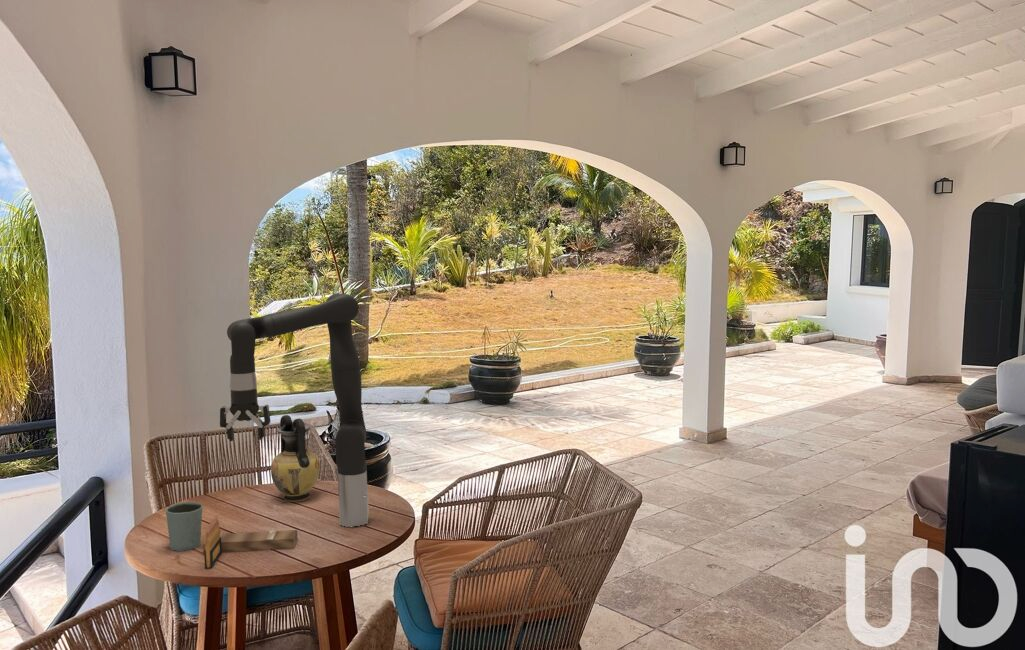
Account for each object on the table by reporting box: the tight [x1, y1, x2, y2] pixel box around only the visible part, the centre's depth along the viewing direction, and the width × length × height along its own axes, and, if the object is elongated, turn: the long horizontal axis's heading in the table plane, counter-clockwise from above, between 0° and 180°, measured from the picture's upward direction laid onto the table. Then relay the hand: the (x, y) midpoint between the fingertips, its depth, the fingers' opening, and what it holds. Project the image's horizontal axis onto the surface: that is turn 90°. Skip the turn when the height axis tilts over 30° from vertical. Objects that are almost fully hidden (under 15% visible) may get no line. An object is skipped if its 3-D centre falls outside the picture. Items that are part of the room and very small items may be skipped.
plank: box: [202, 529, 299, 554], centre depth 223 cm, size 26×7×3 cm, turn 97°
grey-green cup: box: [165, 501, 204, 552], centre depth 224 cm, size 10×10×12 cm
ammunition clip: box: [203, 514, 223, 569], centre depth 212 cm, size 11×2×12 cm, turn 7°
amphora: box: [270, 414, 321, 503], centre depth 265 cm, size 18×17×30 cm
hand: (246, 439), depth 223 cm, fingers open, 8 cm apart
